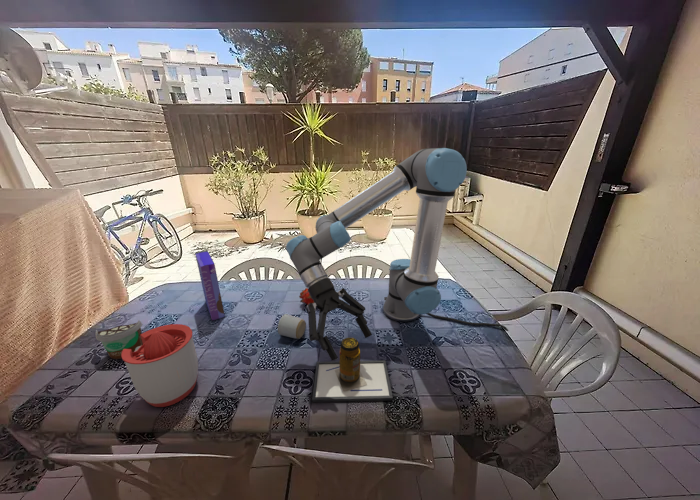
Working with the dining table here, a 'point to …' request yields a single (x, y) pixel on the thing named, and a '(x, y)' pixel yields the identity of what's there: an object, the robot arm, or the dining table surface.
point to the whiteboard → (375, 389)
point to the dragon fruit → (306, 297)
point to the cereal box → (210, 284)
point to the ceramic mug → (291, 326)
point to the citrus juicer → (163, 365)
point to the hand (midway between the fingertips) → (352, 347)
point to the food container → (120, 339)
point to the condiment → (350, 365)
